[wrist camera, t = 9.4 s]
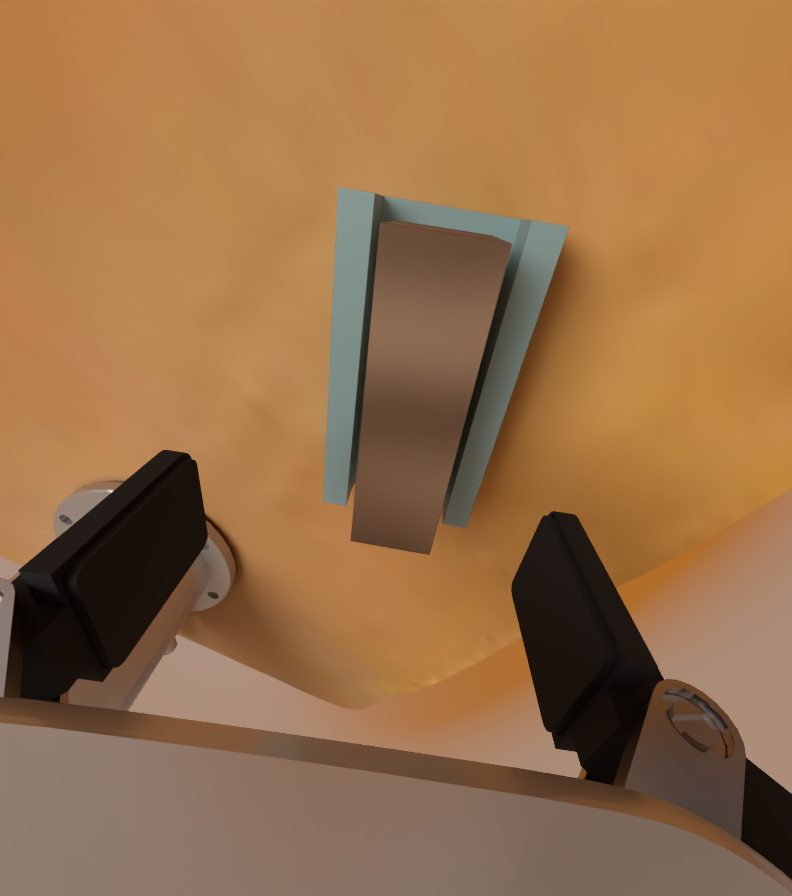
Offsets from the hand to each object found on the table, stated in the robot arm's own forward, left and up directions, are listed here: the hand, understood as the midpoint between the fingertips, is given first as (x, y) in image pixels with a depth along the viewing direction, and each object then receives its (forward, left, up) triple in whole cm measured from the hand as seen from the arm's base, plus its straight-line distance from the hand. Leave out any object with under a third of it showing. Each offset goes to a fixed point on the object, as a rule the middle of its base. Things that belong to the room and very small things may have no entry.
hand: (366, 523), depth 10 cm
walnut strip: (+1, -1, -9) cm, 9 cm away
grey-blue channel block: (+1, -1, -10) cm, 10 cm away
